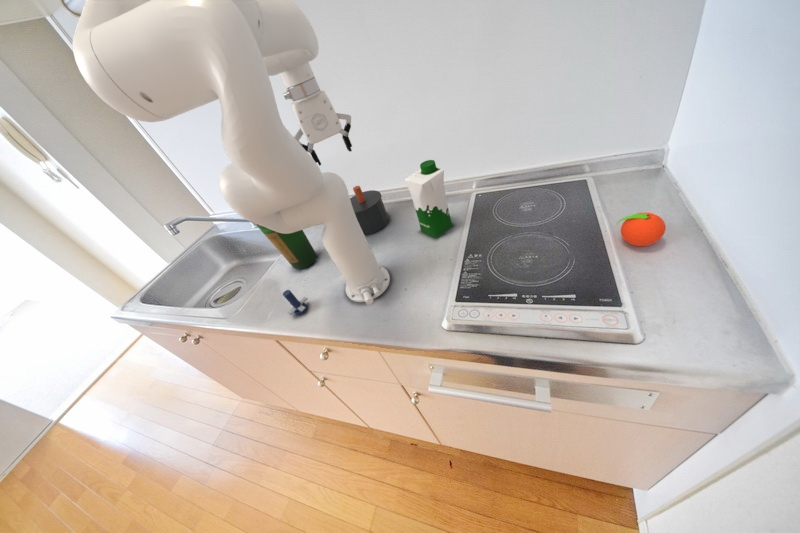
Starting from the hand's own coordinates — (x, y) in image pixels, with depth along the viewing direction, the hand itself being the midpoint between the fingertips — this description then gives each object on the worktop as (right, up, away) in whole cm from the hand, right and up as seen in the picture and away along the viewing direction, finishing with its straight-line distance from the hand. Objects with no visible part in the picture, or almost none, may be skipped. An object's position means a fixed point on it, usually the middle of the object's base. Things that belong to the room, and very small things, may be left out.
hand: (334, 157), depth 78 cm
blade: (-8, -44, -5) cm, 45 cm away
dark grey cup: (+9, -17, +17) cm, 26 cm away
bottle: (-13, -31, +12) cm, 35 cm away
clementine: (+70, -27, -20) cm, 78 cm away
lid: (+7, -10, +12) cm, 17 cm away
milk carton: (+30, -21, +4) cm, 37 cm away
